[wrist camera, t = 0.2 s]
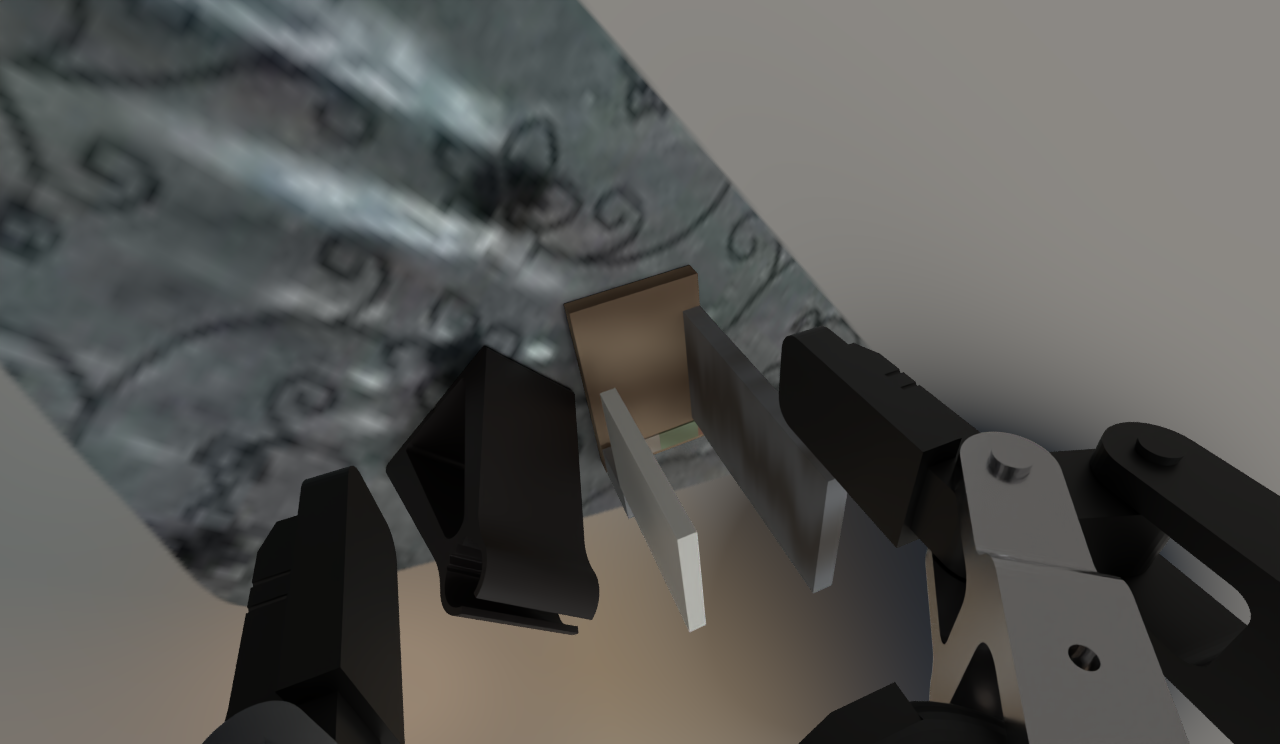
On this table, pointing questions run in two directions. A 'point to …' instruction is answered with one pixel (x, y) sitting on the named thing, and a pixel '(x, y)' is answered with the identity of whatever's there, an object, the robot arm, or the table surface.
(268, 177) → the table surface
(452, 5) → the table surface
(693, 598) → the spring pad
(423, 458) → the phone stand
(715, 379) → the grey bookend
